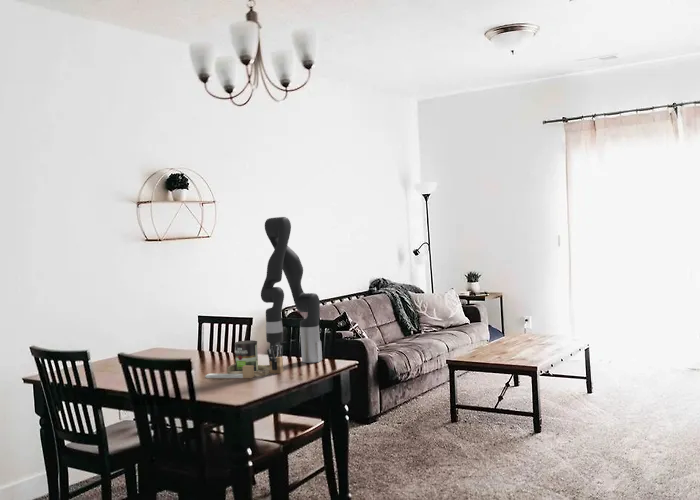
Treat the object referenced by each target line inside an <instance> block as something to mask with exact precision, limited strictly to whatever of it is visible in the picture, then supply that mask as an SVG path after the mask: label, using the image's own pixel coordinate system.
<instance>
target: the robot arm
mask: <svg viewBox="0 0 700 500" xmlns="http://www.w3.org/2000/svg"><path fill="white" fill-rule="evenodd" d="M291 223H292V222H291V220H290V219H289V218H288V217H286V216H278V217H270V218H267V219H266V220H265V222H264V231H265V233H266V235H267V238H268V239H269V241H270V243H271V245H272V247H273V249H274V250H273V252H272V254H271V255H270V257H269V259H268V261H267V266H266V267H267V268H266V275H265V276H266V277H265V279H264V282H263V284H262V288H261V290H260V298H261V300H262V301H263V303H267V304H270V303H273V304H272V307H268V308H267V309H266V310H265V336H266V337H265V338H266V342H267V343H268V344H269V349H268V348H267V357H268V362H269V361H271V362H272V370H277V357H283V354H284V353H283V352H284V344H281V343H283V341H284V331H283V330H284V329H283V327H284V326H283V320H282V318H283V317H282V308H283V304H284V300H285V292H284V289H283V288H281V287H279V286H275V284H277V283H280V282H281V281H282V278H283V273H284V276H285V278H286V281H287V283H288V286H289V288H290V291H291V295H292V300H293V302H294V303H293V304H294V305H295V307H296V309H297V310H298V311H299V313H300V312H301V313H307V316H306V318H303V319H301V320H300V321H299V329H300V330H299V331H300V347H301V348H300V349H301V351H300V352H301V363H307V364H312V363H314V364H315V363H320V362H322V360H323V351H322V349H323V348H322V341H321V339H320V337H321V336H320V318H321V310H320V309H321V307H320V306H321V302H320V298H319V295H318V294H317V293H314V292H313V293H310V292H309V293H307V292H304V290H303V287H302V278H303V275H304V274H303V273H304V267H303V264H302V260H300V257H299V256H298V254H297V253H296V252H295V251H294V250H293V249H292V248H291V247H289V246H288V243H289V240H290V236H291V230H292V224H291Z"/></svg>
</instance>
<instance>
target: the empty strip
mask: <svg viewBox="0 0 700 500" xmlns="http://www.w3.org/2000/svg"><path fill="white" fill-rule="evenodd" d="M242 369H243V374H227V373H207V374H205V378H206V379H253V378H254V377H255V376H254V365H245V366H243V367H242Z"/></svg>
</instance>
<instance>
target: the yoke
mask: <svg viewBox="0 0 700 500" xmlns="http://www.w3.org/2000/svg"><path fill="white" fill-rule="evenodd" d="M261 370H263V371H261ZM276 373H277V374H279V375H280V374H283V373H284V358H283V356H282V357H277V370H272V362H271V361H269V360H268V364H258V371H254V377H266V376H268V375H270V374H276ZM226 374H243V371H236V363H234V364H231V365H230V366H227V367H226Z"/></svg>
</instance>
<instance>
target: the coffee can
mask: <svg viewBox="0 0 700 500" xmlns="http://www.w3.org/2000/svg"><path fill="white" fill-rule="evenodd" d="M234 353H235V364H236V371H243V369H242V367H243V366H245V365H254V371H259V370H258V365H259V357H258V354H259V353H258V341H257V340H254V339H253V340H252V339H251V340H240V341H236V342H234Z"/></svg>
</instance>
